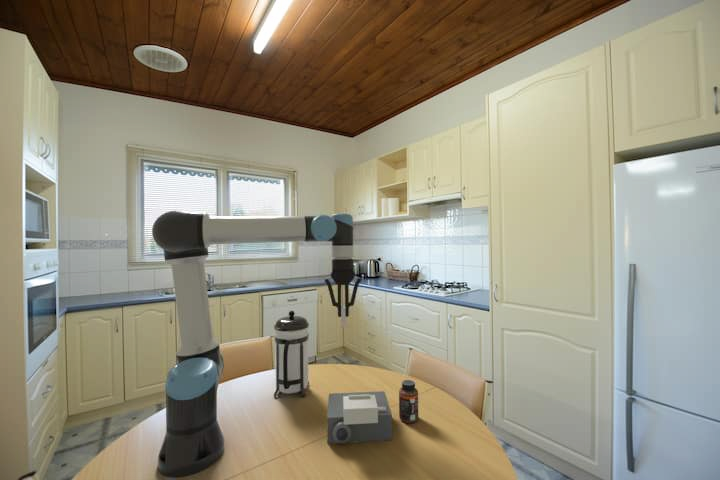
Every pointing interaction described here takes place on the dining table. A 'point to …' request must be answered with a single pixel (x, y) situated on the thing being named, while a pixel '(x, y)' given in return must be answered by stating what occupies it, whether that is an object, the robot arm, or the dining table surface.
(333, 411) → the gray box
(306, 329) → the coffee press
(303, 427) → the dining table surface
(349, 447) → the dining table surface
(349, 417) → the hatch door
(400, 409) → the supplement bottle
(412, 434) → the dining table surface
